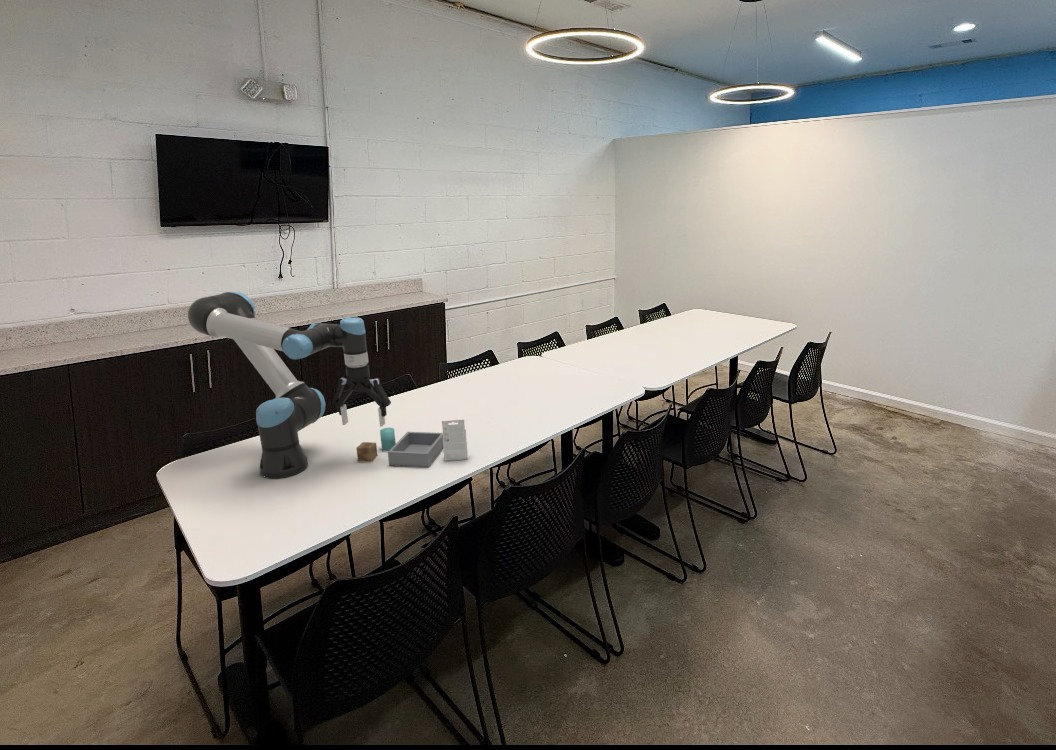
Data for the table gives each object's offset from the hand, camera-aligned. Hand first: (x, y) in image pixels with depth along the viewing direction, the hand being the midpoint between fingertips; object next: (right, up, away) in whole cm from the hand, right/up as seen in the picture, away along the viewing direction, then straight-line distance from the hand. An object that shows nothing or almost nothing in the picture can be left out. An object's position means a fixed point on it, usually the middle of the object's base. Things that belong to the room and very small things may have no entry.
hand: (363, 424), depth 200 cm
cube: (0, -12, +4) cm, 13 cm away
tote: (+18, -11, +4) cm, 21 cm away
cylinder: (+6, -10, +11) cm, 16 cm away
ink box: (+31, -12, +1) cm, 34 cm away
